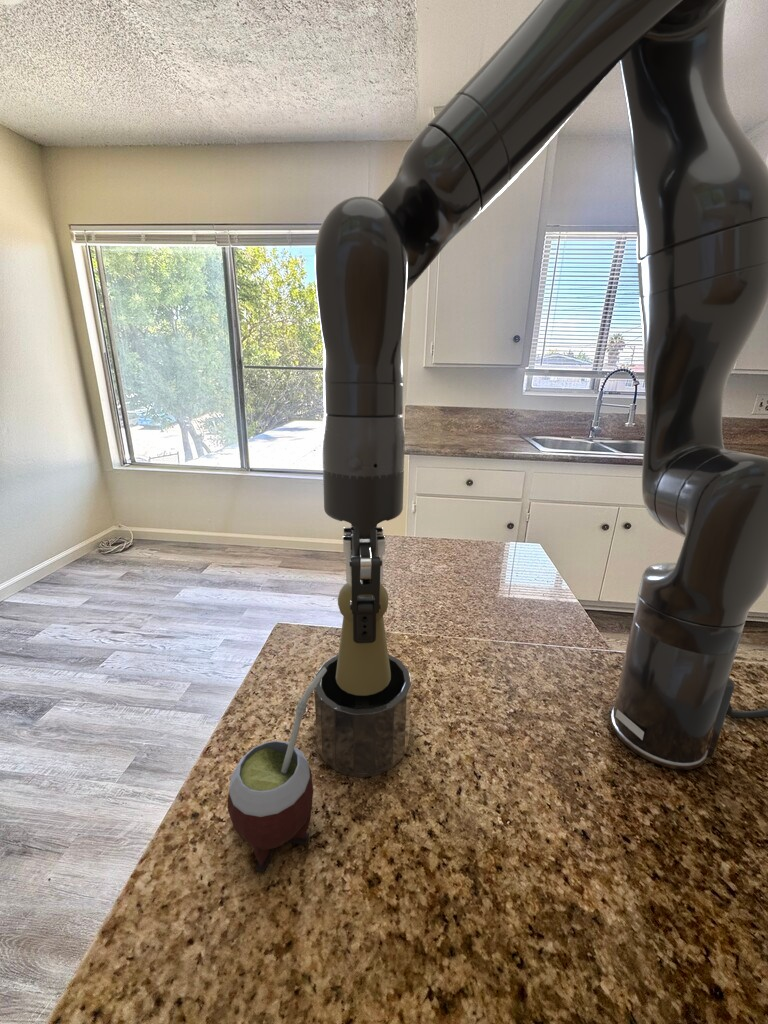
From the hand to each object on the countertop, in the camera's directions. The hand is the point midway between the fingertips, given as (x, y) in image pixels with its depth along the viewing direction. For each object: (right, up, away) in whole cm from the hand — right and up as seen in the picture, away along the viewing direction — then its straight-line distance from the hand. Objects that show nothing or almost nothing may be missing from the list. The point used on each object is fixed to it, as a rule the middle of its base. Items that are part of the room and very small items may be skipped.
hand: (363, 624), depth 44 cm
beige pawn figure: (0, -6, +2) cm, 7 cm away
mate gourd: (-7, -17, -6) cm, 20 cm away
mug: (0, -14, +6) cm, 15 cm away
